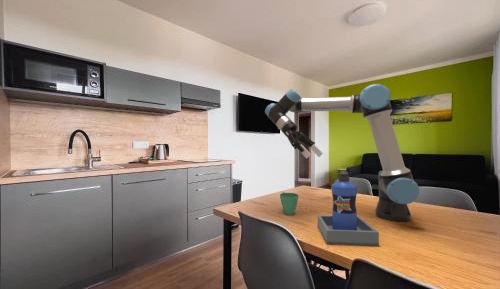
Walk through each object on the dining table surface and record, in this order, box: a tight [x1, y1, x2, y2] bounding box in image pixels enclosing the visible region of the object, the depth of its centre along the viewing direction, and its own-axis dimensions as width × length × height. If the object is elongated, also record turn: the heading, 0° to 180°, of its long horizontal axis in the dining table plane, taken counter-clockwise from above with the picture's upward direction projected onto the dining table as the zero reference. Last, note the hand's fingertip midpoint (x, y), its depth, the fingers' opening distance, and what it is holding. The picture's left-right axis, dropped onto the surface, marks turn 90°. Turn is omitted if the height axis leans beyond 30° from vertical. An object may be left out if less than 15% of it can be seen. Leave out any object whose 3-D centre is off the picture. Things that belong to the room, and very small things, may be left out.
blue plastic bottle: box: [331, 169, 358, 230], centre depth 89 cm, size 9×9×25 cm
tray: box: [316, 214, 380, 247], centre depth 89 cm, size 18×18×5 cm
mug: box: [279, 191, 299, 216], centre depth 121 cm, size 15×10×10 cm
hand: (315, 155), depth 105 cm, fingers open, 13 cm apart
